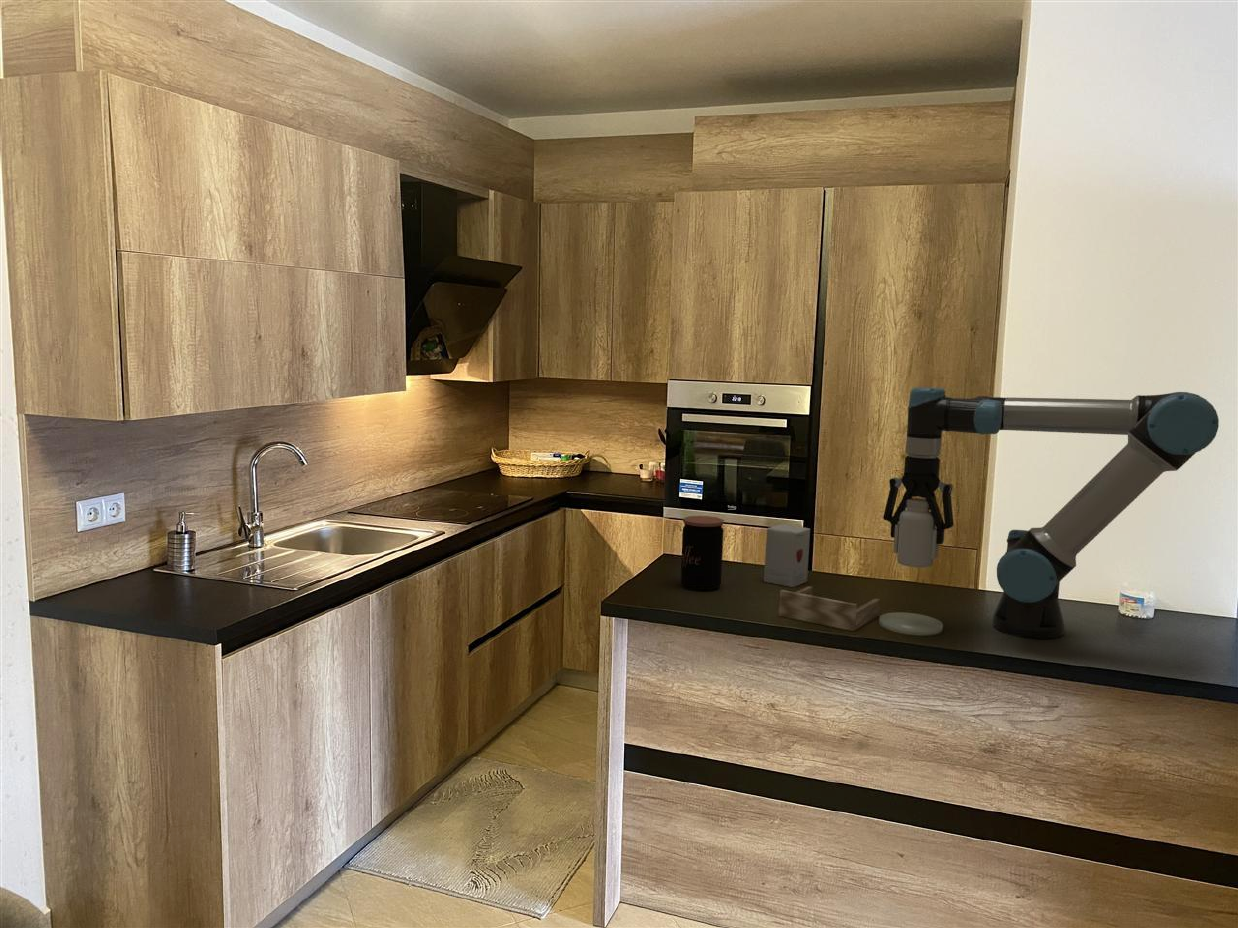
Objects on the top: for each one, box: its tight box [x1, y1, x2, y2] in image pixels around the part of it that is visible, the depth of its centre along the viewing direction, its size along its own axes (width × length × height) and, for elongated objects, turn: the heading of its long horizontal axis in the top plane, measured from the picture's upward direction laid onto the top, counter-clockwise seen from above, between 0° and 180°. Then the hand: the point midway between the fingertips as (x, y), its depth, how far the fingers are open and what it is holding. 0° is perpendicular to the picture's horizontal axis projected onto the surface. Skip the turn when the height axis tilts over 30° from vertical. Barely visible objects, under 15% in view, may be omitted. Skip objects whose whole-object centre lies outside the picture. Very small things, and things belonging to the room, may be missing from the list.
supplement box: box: [763, 523, 811, 588], centre depth 249 cm, size 9×9×15 cm
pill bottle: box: [896, 497, 936, 569], centre depth 210 cm, size 8×8×15 cm
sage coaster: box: [878, 611, 944, 637], centre depth 212 cm, size 14×14×1 cm
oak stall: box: [778, 585, 881, 632], centre depth 219 cm, size 18×16×6 cm
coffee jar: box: [680, 515, 725, 592], centre depth 241 cm, size 11×11×18 cm
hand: (915, 554), depth 210 cm, fingers closed on pill bottle, 8 cm apart
